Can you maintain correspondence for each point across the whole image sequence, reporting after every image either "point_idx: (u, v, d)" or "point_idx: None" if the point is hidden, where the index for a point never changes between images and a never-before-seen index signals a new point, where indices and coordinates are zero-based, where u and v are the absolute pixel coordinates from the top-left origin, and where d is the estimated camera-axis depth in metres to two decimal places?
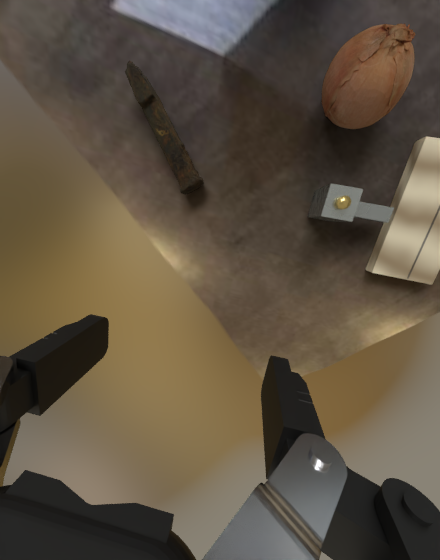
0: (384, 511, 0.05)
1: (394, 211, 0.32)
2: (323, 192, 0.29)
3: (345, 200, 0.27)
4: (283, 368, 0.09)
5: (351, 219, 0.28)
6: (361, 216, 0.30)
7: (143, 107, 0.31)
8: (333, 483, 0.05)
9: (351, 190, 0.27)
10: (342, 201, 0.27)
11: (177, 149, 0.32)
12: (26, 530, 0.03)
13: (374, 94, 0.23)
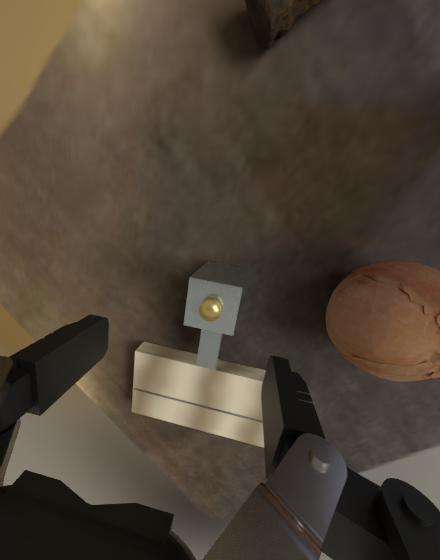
0: (384, 511, 0.05)
1: None
2: (233, 278, 0.18)
3: (213, 312, 0.15)
4: (283, 368, 0.09)
5: (186, 323, 0.17)
6: (202, 333, 0.21)
7: None
8: (333, 483, 0.05)
9: (231, 319, 0.16)
10: (210, 309, 0.15)
11: None
12: (26, 530, 0.03)
13: (376, 338, 0.14)
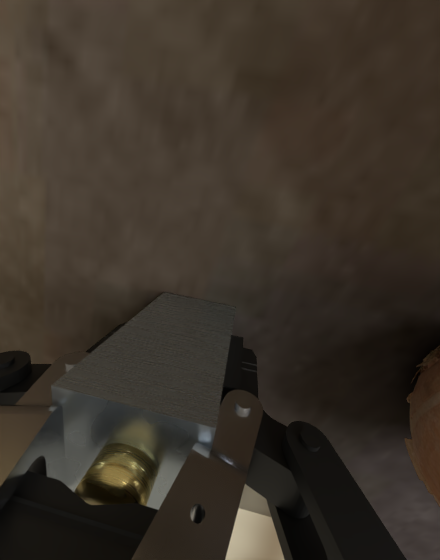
0: (288, 452, 0.06)
1: None
2: (200, 361, 0.07)
3: None
4: (236, 344, 0.10)
5: None
6: None
7: None
8: (246, 422, 0.06)
9: None
10: (110, 502, 0.05)
11: None
12: (26, 530, 0.03)
13: None
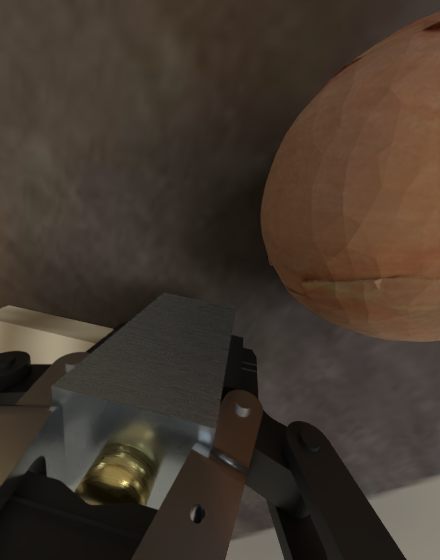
0: (288, 452, 0.06)
1: None
2: (200, 362, 0.07)
3: None
4: (236, 344, 0.10)
5: None
6: None
7: None
8: (246, 422, 0.06)
9: None
10: (110, 502, 0.05)
11: None
12: (26, 530, 0.03)
13: (352, 198, 0.05)
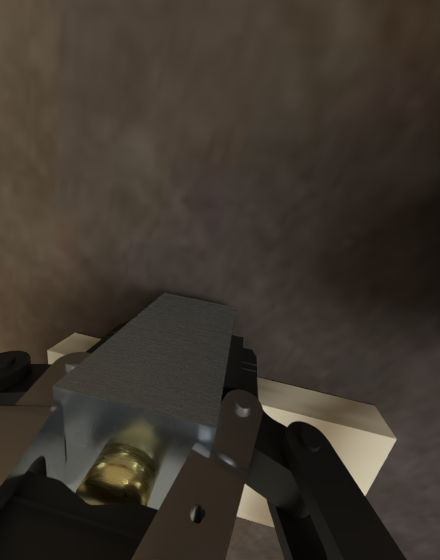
0: (288, 452, 0.05)
1: None
2: (200, 362, 0.07)
3: None
4: (236, 344, 0.10)
5: None
6: None
7: None
8: (246, 422, 0.06)
9: None
10: (111, 501, 0.05)
11: None
12: (26, 530, 0.03)
13: None
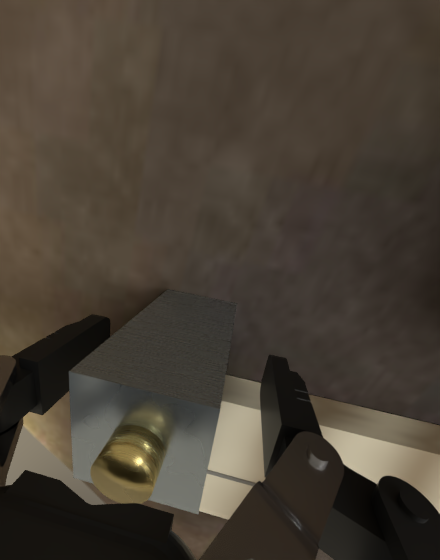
0: (380, 508, 0.05)
1: None
2: (204, 352, 0.07)
3: (132, 485, 0.05)
4: (282, 367, 0.09)
5: (81, 476, 0.07)
6: None
7: None
8: (330, 480, 0.05)
9: (191, 480, 0.06)
10: (124, 476, 0.05)
11: None
12: (26, 530, 0.03)
13: None
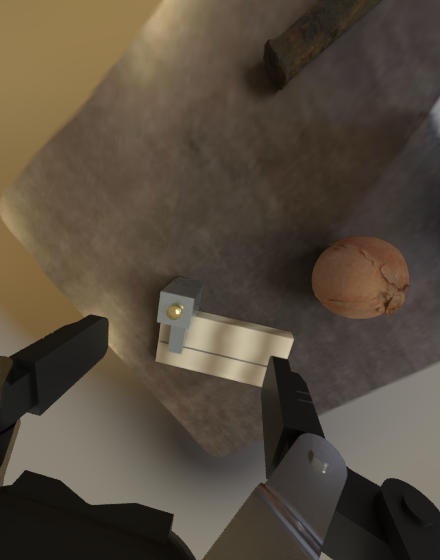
0: (384, 511, 0.05)
1: (226, 322, 0.31)
2: (191, 291, 0.26)
3: (175, 314, 0.24)
4: (283, 368, 0.09)
5: (159, 321, 0.26)
6: (172, 328, 0.29)
7: None
8: (333, 483, 0.05)
9: (187, 318, 0.25)
10: (173, 312, 0.24)
11: (332, 19, 0.20)
12: (26, 530, 0.03)
13: (343, 284, 0.21)
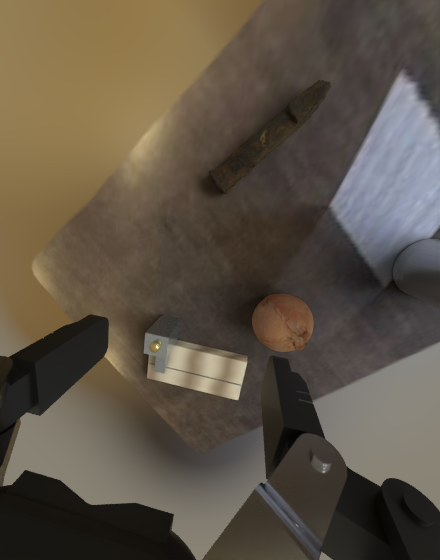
0: (384, 511, 0.05)
1: (197, 349, 0.41)
2: (168, 330, 0.37)
3: (155, 349, 0.35)
4: (283, 368, 0.09)
5: (145, 352, 0.36)
6: None
7: (286, 110, 0.28)
8: (333, 483, 0.05)
9: (164, 351, 0.36)
10: (154, 347, 0.35)
11: (248, 160, 0.30)
12: (26, 530, 0.03)
13: (265, 330, 0.31)
